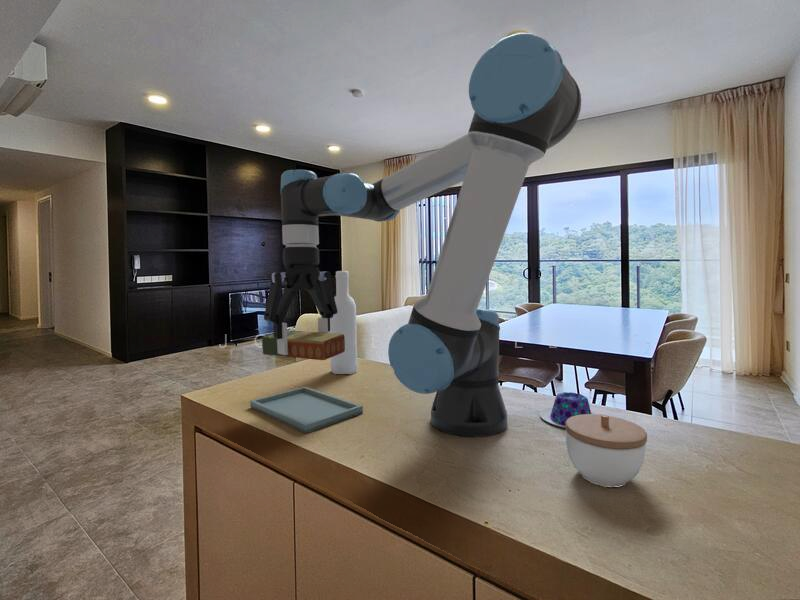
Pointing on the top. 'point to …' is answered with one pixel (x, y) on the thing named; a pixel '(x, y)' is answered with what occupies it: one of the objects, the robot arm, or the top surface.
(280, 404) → the tray
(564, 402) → the pudding
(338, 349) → the carton
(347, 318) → the bottle
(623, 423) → the lidded jar
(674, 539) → the top surface
